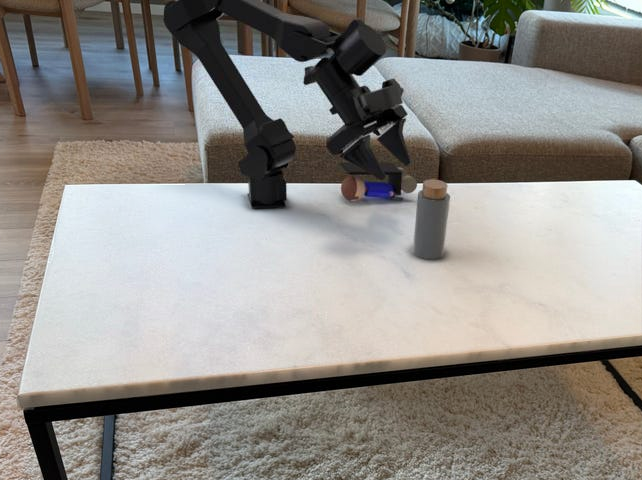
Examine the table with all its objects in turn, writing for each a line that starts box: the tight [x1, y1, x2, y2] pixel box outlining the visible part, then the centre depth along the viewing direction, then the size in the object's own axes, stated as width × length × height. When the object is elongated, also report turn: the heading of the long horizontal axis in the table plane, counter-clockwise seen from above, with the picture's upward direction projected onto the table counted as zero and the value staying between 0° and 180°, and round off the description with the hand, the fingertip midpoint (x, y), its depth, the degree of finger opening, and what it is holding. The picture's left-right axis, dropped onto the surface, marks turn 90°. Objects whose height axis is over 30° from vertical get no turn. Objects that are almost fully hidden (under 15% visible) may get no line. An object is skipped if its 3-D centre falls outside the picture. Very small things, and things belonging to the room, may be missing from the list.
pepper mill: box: [412, 178, 451, 260], centre depth 121 cm, size 6×6×13 cm
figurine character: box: [339, 161, 418, 202], centre depth 141 cm, size 7×8×15 cm
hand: (396, 171), depth 120 cm, fingers open, 9 cm apart
